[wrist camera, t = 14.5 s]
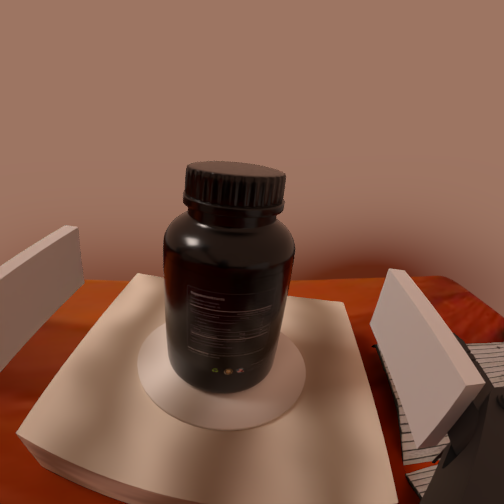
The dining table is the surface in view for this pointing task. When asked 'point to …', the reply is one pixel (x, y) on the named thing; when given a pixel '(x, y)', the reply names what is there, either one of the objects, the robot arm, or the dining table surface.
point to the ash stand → (213, 416)
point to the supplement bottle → (227, 276)
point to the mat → (500, 374)
